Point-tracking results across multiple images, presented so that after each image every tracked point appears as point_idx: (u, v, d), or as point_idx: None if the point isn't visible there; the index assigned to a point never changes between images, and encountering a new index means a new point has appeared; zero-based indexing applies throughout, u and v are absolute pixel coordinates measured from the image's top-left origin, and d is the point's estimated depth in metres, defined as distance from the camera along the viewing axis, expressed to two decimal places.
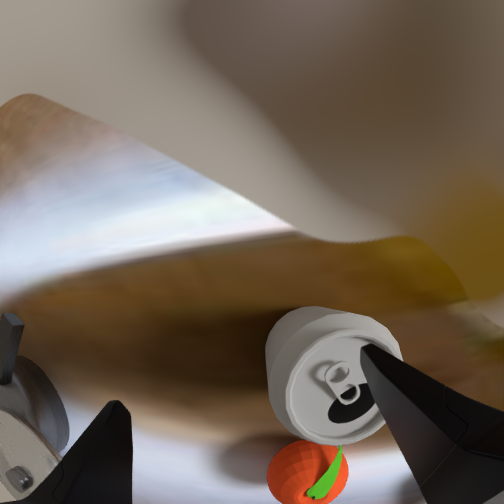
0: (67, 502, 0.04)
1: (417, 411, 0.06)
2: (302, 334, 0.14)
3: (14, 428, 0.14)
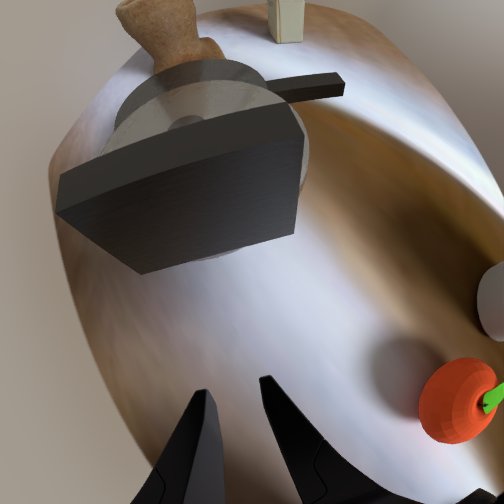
0: None
1: (284, 459, 0.05)
2: None
3: None
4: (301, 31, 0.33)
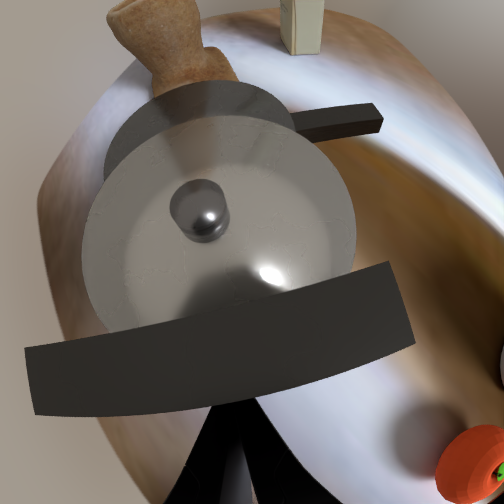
0: None
1: (248, 467, 0.05)
2: None
3: (312, 162, 0.14)
4: (318, 42, 0.30)
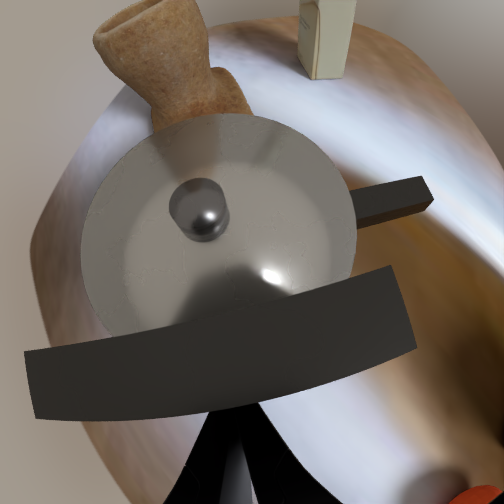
0: None
1: (248, 467, 0.05)
2: None
3: (312, 161, 0.14)
4: (343, 65, 0.27)
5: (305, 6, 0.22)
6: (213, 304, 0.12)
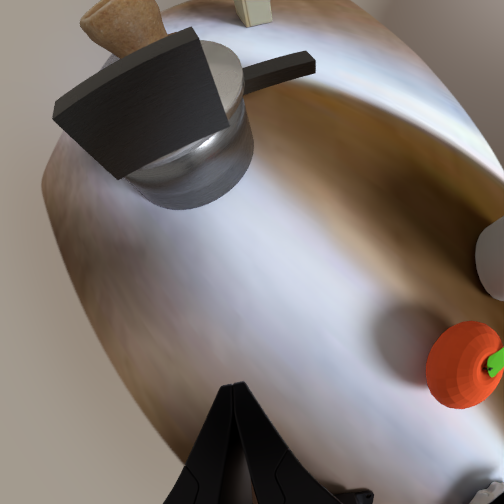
0: None
1: (248, 467, 0.05)
2: None
3: (217, 51, 0.19)
4: (269, 11, 0.31)
5: None
6: None
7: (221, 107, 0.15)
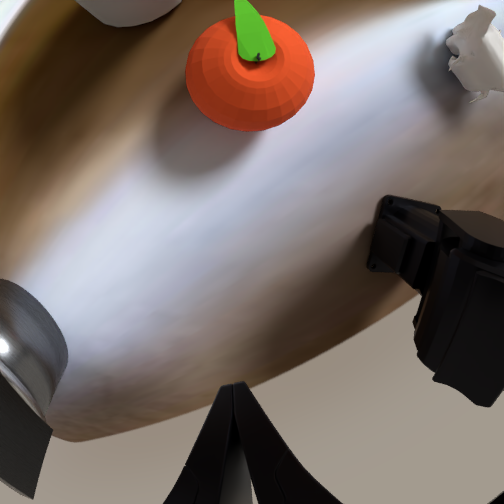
0: None
1: (248, 467, 0.05)
2: None
3: None
4: None
5: None
6: None
7: None
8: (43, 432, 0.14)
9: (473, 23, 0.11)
